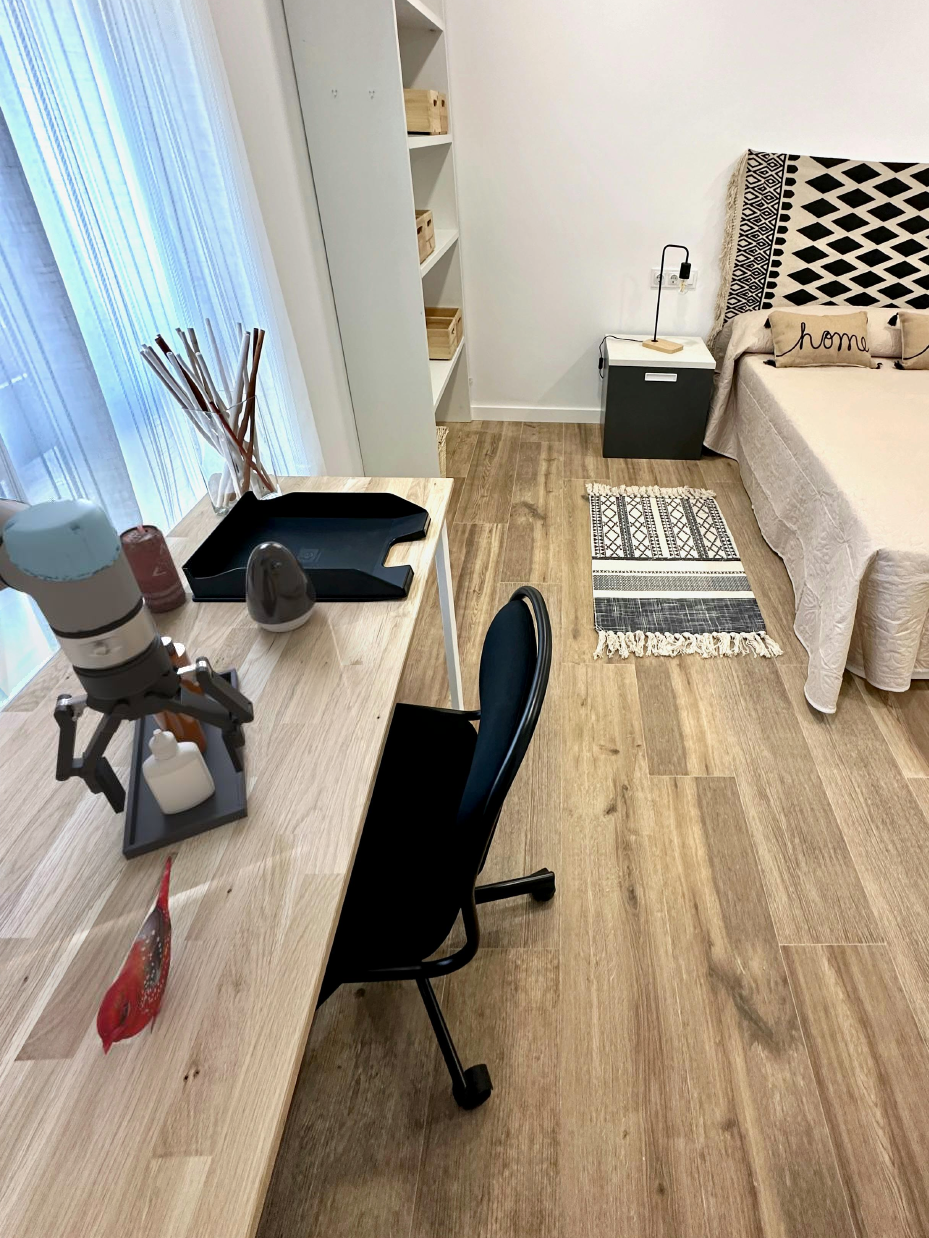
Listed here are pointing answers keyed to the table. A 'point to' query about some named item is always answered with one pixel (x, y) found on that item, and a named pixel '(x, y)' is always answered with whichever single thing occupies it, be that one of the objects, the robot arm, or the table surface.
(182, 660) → the amber bottle
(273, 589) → the dark grey rounded cone
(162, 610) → the can
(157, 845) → the tray
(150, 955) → the decorative bird figurine
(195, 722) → the amber bottle
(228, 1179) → the table surface
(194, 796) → the eye dropper bottle
